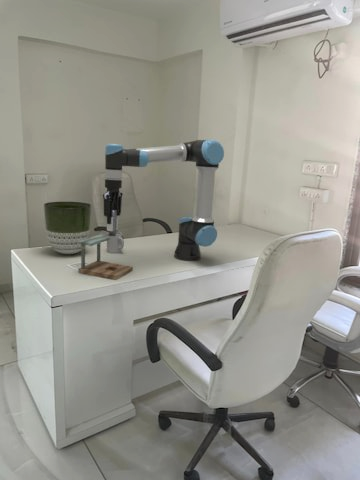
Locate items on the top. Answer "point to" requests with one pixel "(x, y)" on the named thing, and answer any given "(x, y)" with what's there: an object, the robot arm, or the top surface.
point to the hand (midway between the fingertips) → (112, 229)
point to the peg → (113, 233)
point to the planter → (67, 225)
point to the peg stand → (98, 266)
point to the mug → (115, 243)
